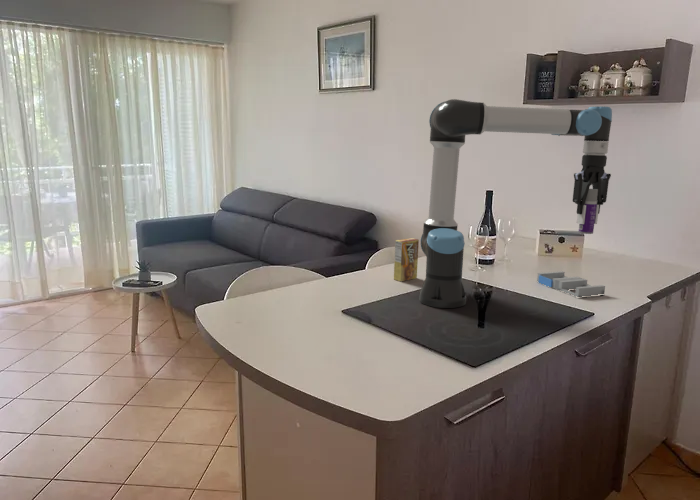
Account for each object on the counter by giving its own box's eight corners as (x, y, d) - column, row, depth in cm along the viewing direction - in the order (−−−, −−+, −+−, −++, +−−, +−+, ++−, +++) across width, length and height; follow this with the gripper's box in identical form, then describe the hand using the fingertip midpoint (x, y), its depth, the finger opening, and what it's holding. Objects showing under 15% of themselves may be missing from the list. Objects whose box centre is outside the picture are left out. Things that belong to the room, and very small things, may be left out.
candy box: (409, 276, 208) (411, 237, 205) (417, 278, 205) (419, 239, 202) (393, 279, 202) (394, 240, 199) (401, 282, 199) (402, 241, 196)
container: (591, 234, 180) (596, 190, 177) (576, 232, 183) (581, 188, 180) (594, 232, 184) (599, 189, 181) (580, 231, 187) (585, 188, 184)
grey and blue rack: (576, 298, 181) (577, 288, 181) (535, 282, 202) (536, 273, 201) (604, 295, 185) (605, 286, 184) (561, 280, 205) (561, 271, 205)
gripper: (581, 154, 172) (573, 225, 177) (624, 155, 177) (615, 224, 182) (565, 153, 179) (558, 222, 184) (607, 154, 184) (599, 221, 189)
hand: (586, 223), depth 183 cm, fingers closed on container, 5 cm apart
